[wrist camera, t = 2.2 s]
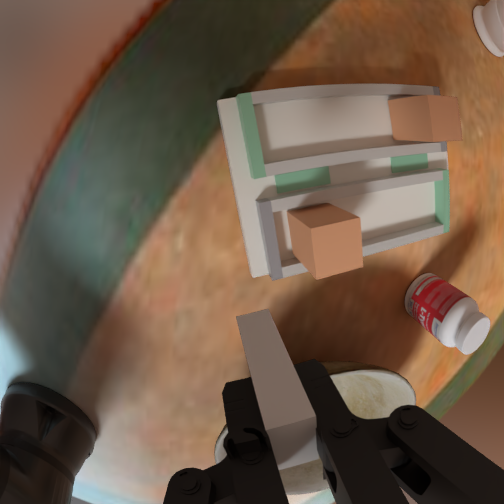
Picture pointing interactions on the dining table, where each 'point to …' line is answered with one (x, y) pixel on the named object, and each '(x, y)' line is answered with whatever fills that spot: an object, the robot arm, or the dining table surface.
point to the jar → (491, 25)
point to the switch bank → (330, 168)
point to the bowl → (358, 402)
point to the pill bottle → (446, 313)
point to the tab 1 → (326, 239)
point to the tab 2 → (425, 118)
